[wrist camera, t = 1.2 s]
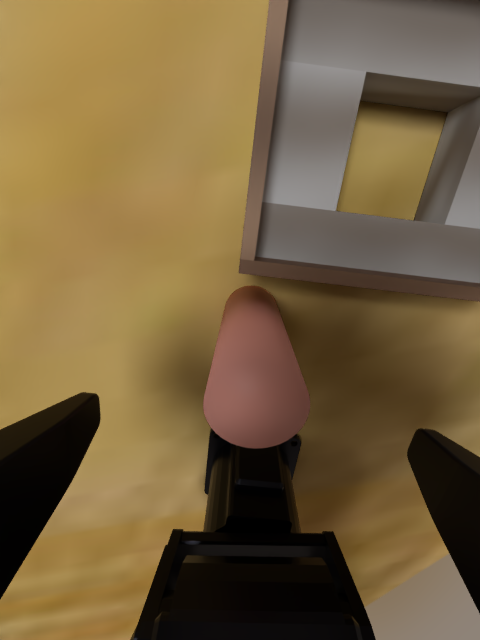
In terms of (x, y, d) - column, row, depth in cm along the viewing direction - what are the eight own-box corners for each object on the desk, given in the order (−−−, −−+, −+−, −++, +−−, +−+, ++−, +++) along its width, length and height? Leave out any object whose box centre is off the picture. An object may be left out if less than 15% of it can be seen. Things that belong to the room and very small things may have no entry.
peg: (272, 338, 17) (299, 453, 9) (222, 332, 17) (199, 442, 9) (281, 288, 16) (320, 366, 8) (227, 282, 16) (207, 354, 8)
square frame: (463, 286, 16) (530, 307, 12) (240, 259, 16) (238, 272, 12) (563, 42, 12) (708, -39, 8) (269, 1, 12) (280, -102, 8)
